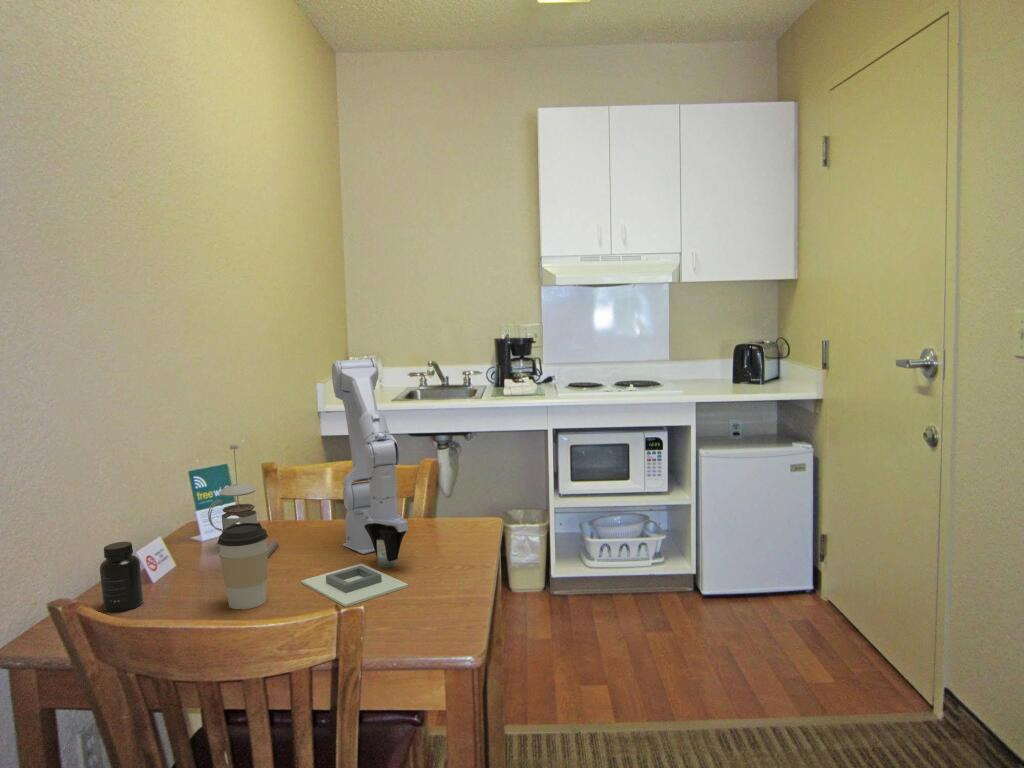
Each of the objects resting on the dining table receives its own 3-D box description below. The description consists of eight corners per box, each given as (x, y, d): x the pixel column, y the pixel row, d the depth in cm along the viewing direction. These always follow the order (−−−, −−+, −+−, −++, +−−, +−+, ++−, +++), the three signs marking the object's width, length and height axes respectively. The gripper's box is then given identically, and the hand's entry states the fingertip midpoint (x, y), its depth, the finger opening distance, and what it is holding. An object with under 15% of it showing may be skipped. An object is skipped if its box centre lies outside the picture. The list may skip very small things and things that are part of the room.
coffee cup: (223, 615, 137) (217, 535, 135) (221, 598, 145) (215, 523, 144) (274, 606, 140) (269, 528, 139) (269, 590, 149) (264, 516, 147)
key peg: (374, 565, 161) (372, 538, 161) (390, 561, 164) (388, 534, 163) (384, 570, 158) (382, 542, 158) (400, 565, 161) (398, 538, 160)
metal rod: (278, 548, 177) (278, 540, 177) (241, 590, 150) (241, 581, 150) (270, 548, 177) (269, 540, 177) (232, 591, 150) (231, 581, 150)
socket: (301, 582, 152) (300, 573, 152) (361, 565, 161) (360, 556, 161) (345, 607, 139) (344, 596, 138) (408, 586, 148) (407, 576, 148)
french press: (268, 548, 176) (261, 443, 173) (216, 558, 169) (208, 450, 167) (256, 538, 184) (249, 438, 181) (207, 548, 177) (199, 444, 175)
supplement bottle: (113, 600, 146) (107, 540, 145) (149, 597, 147) (144, 538, 145) (96, 614, 139) (91, 551, 138) (134, 611, 140) (129, 549, 139)
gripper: (349, 493, 162) (353, 554, 164) (386, 505, 151) (389, 570, 153) (377, 488, 167) (381, 547, 168) (414, 498, 156) (417, 561, 157)
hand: (386, 557), depth 161 cm, fingers closed on key peg, 4 cm apart
